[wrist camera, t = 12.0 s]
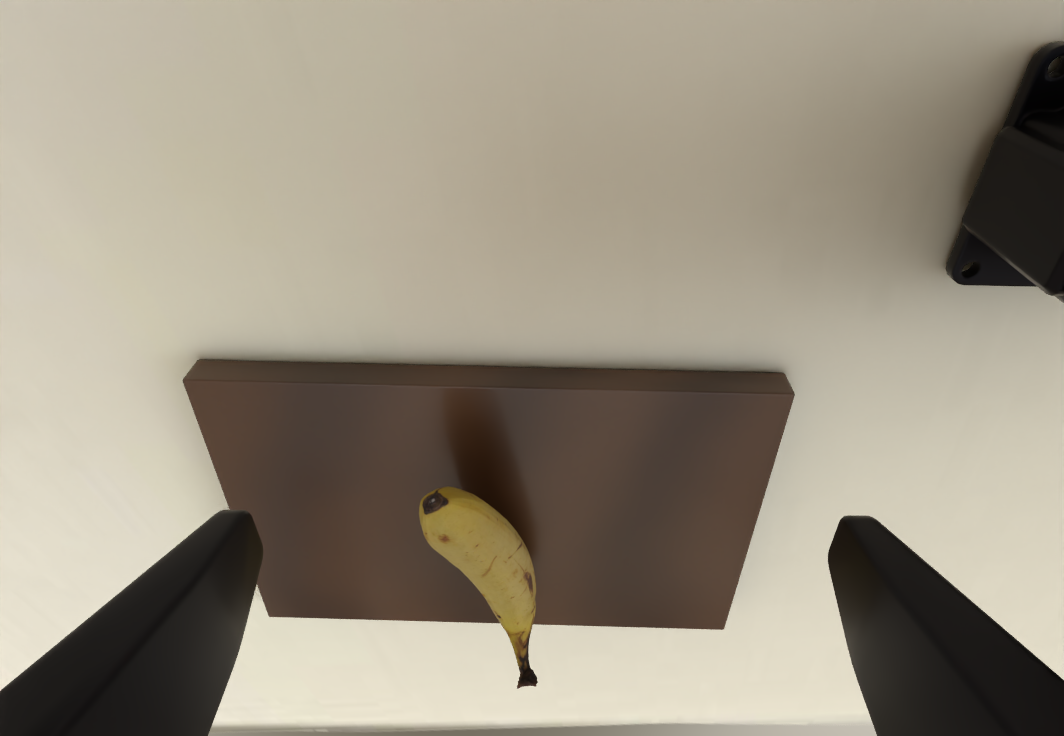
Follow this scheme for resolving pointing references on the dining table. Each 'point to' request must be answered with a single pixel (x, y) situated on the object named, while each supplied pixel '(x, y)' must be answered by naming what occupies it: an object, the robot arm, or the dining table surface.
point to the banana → (486, 561)
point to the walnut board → (495, 483)
